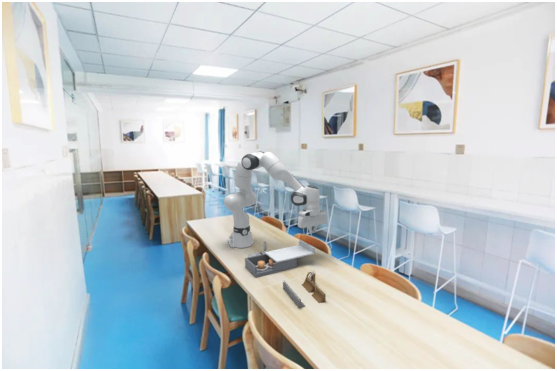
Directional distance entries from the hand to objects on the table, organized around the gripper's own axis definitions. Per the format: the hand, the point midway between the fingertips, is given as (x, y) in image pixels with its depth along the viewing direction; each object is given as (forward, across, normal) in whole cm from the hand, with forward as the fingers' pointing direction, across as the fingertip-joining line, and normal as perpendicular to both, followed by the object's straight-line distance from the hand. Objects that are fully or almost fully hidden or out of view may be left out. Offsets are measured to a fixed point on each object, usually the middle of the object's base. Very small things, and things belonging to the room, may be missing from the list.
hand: (312, 232), depth 179 cm
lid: (+10, +17, 0) cm, 20 cm away
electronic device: (+18, +29, -19) cm, 39 cm away
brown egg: (+16, +36, 0) cm, 40 cm away
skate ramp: (+18, +23, +35) cm, 46 cm away
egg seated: (+16, +29, 0) cm, 33 cm away
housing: (+17, +30, 0) cm, 35 cm away
